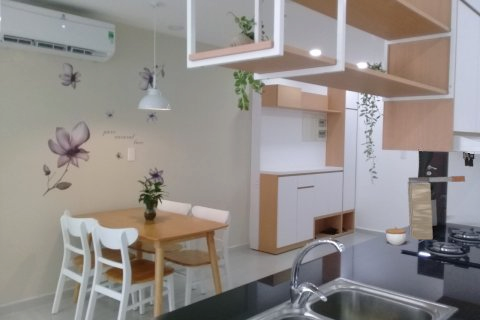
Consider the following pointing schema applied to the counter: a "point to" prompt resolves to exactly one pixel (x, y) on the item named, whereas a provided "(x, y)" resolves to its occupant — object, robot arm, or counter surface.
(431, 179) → the breaker handle
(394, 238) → the lidded jar
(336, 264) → the counter surface
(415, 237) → the birch stand
